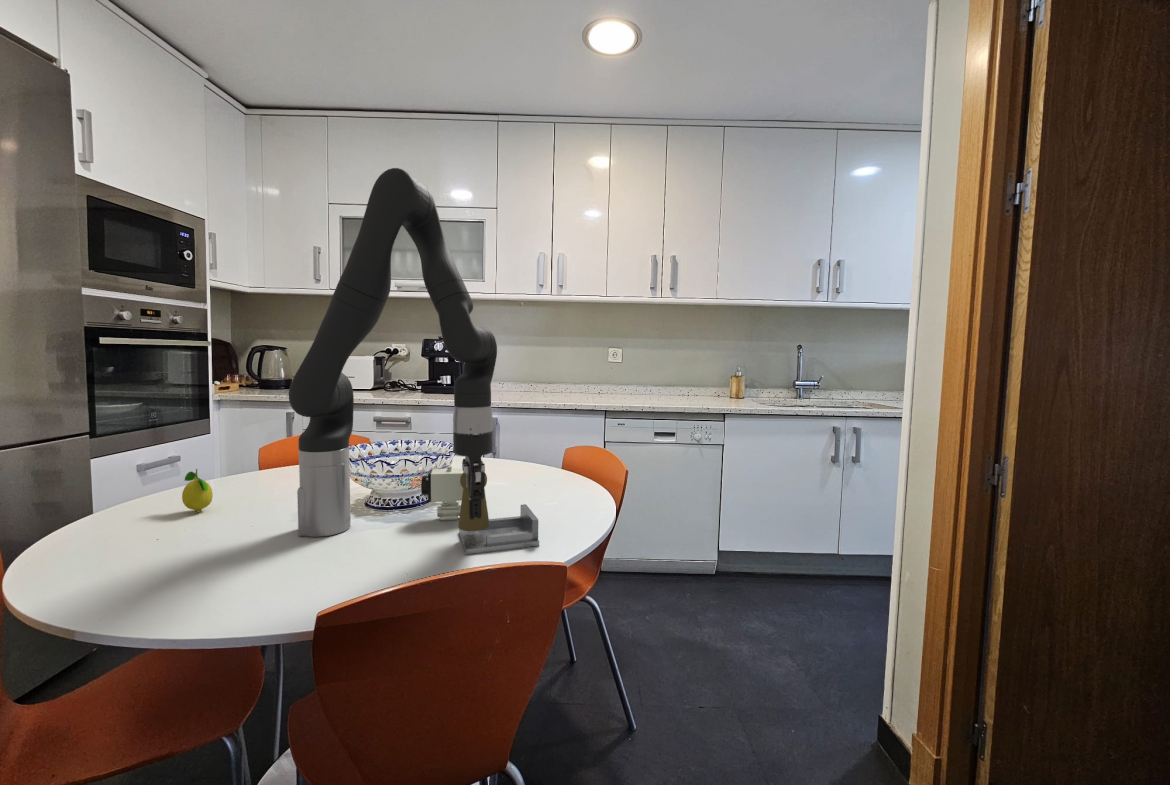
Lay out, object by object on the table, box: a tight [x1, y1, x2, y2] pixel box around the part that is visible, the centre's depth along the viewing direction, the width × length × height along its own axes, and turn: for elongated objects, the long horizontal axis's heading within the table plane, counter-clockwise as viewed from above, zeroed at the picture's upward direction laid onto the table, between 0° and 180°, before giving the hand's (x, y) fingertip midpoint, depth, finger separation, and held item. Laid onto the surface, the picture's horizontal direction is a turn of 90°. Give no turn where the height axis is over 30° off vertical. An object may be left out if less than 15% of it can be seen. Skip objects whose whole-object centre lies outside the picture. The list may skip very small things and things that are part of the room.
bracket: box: [458, 503, 540, 555], centre depth 100 cm, size 14×12×5 cm
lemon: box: [181, 468, 214, 512], centre depth 113 cm, size 7×6×10 cm
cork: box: [457, 473, 490, 531], centre depth 98 cm, size 6×6×11 cm
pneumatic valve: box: [420, 465, 463, 522], centre depth 112 cm, size 6×12×12 cm, turn 102°
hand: (473, 514), depth 98 cm, fingers closed on cork, 4 cm apart
